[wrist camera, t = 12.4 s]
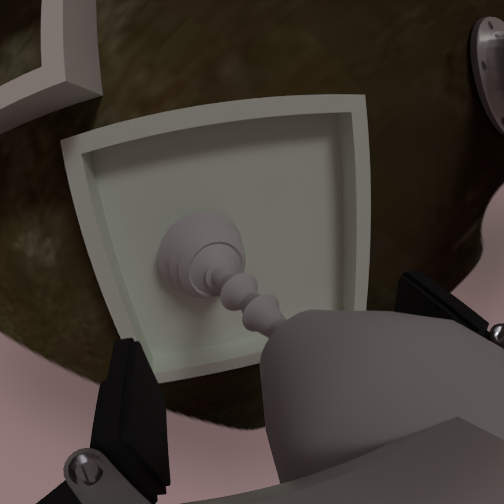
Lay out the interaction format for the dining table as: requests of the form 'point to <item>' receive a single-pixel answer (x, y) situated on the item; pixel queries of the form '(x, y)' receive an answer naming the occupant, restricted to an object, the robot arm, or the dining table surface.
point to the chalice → (338, 360)
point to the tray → (233, 207)
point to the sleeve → (56, 65)
